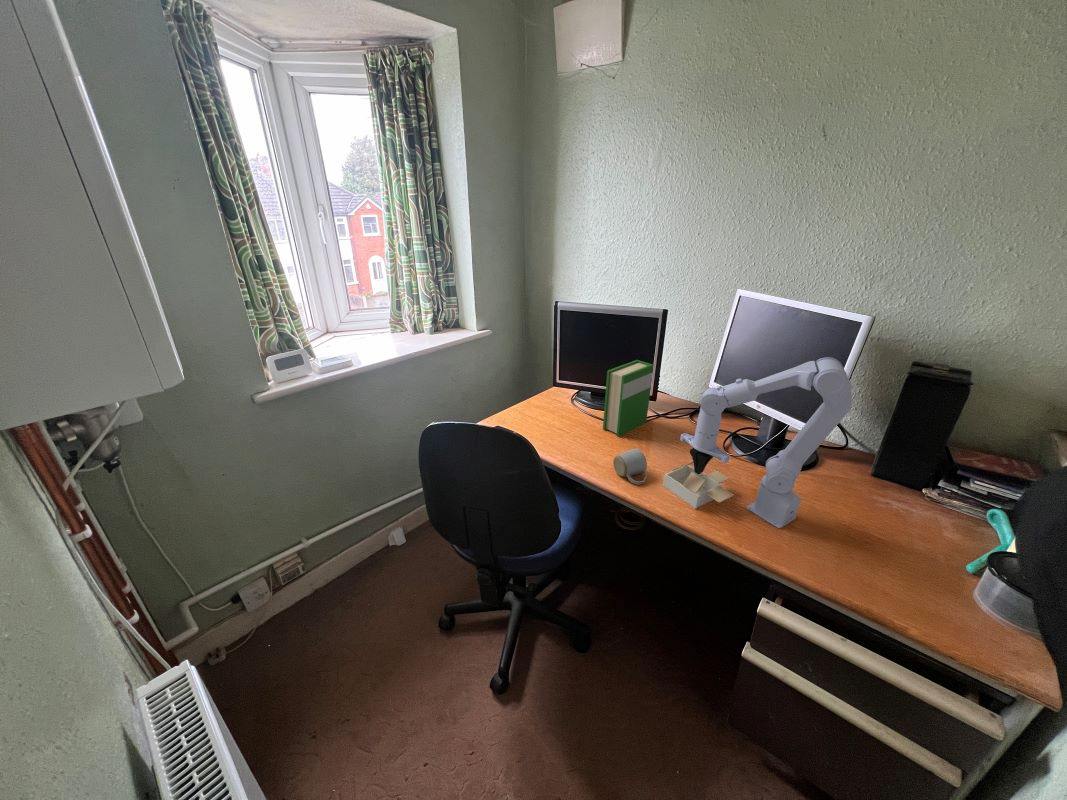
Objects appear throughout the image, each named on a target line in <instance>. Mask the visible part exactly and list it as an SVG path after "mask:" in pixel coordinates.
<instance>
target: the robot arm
mask: <svg viewBox="0 0 1067 800" xmlns="http://www.w3.org/2000/svg"><path fill="white" fill-rule="evenodd" d="M791 387H799V388H801V389H803V390H804V389H805V390H806V391H812V387H813V388H814V389H815V391H816V392H817V393H818V394H819V395H820V396H821V398H822V400H823V402H822V403H821V404H820V406H819V407H817V409H816V410H815V412H814V413H813V414H812V416H811V417H810V418H809V419H808V420H807V421H806V423H805V424H804V425H803V427H801V429H800V430H799V432H797V434H796V435H794V437H793V438H792V440H791V441H790V443H789V444H787V446H786V447H785V449H782V450H779V451H778V453H777V454H776V455H773V456H770V457H769V458H768V459H767V460H766V461H765V472H766V473H765V474H764V476H762V478H760V479H761V480H760V483H759V486H758V490H757V493H756V496H755V500H754V502H752V503H751V504H749V505H747V506H746V509H747V510H748V511H750V512H751V513H753V514H754V515H756V516H758V517H760V518H761V519H762V520H764V521H766V522H767V523H769V524H771V525H772V526H774V527H775V528H777V529H782V528H783V527H784V526H787V525H788V524H789V523H791V522H792V521H794V520H796V519H797V516H796V515H797V513H798V509H799V506H800V504H801V501H802V500H801V499H802V498H801V497H800V496H799V495H798V494H796V493H795V491H794V490H793V489H794V488H795V482H796V480H797V479H798V478H799V476H800V473H801V470H802V468H803V465H804V464H805V462H806V461H807V460H808V459H810V457H811V456H812V455H813V453H814V452H815V451H816V450H817V449H818V448H819V447H820V445H821V444H822V443H823V442H824V441H825V440H826V439H827V438H828V436H829V435H830V434H831V433H832V432H833V430H834V429H835V428H836V427H837V426H838V425H839V423H840V422H842V420H843V419H844V418H845V417H846V415H847V414H848V413H849V412H850V411H851V409H852V407H853V405H852V399H853V398H852V396H853V395H852V394H853V393H852V392H853V391H852V390H853V385H852V382H851V380H850V379H849V377H848V374H847V372H846V371H845V368H844V366H843V364H842V363H841V362H840V361H839V360H838V359H837V358H835V357H829V356H828V357H822V358H819V359H816V361H815V360H810V361H807V362H804V363H802V364H799V365H797V366H794V367H791V368H789V369H786V370H783V371H781V372H777V373H775V374H771V375H768V376H766V377H764V378H761V379H758V380H752V379H749V378H745V379H742V378H741V377H740V378H736V380H735V382H733V383H729V384H727V385H723V386H721V384H720V385H718V386H716V387H709V388H707V389H706V390H704V392H703V394H702V395H701V400H700V408H699V413H698V415H697V417H698V418H697V420H696V421H697V422H696V427H695V431H694V432H695V433H694V435H693V434H692V435H691V434H689V433H686V432H684V433H682V434H680V439H679V441H681V442H685V443H687V444H689V445H690V446H691V447H692V448H691V449H690V450H689V454H690V456H691V459H692V462H693V463H692V464H693V468H694V471H695V473H697V474H700V473H704V471H705V468H706V467H707V465H708V464H709V463H710V461H711V460H712V459H713V458H715V459H717V460H719V461H720V462H721V464H724V465H725V464H727V463H728V462H729V461H730V457H731V455H730V454H728V453H726V452H725V451H724V450H722V448H720V447H719V446H717V441H718V436H719V433H720V427H721V421H722V413H723V412H724V410H725V409H726V408H727V409H728V408H733V407H735V406H739V405H743V404H747V403H751V402H754V401H756V400H757V398H758V396H759V395H761V394H765V393H770V392H775V391H778V390H782V389H786V388H791Z"/></svg>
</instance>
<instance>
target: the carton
mask: <svg viewBox="0 0 1067 800" xmlns="http://www.w3.org/2000/svg"><path fill="white" fill-rule="evenodd" d="M673 470H674V469H673ZM691 472H693V473H695V471H694V466H691V465H687V466H685V467H682V468H680V469H677V470H674V471H672V470H671V471H669V472H666V473H665V474H664V477H663V483H662V487H664V488H665V489H667V490H668V491H669V492H671V493H672V494H674V495H675V496H676V497H678V498H679V499H681V500H682V501H684V502H685V503H687V504H688V505H690V506H691V507H692V508H694V509H695V510H696V509H698V508H700V507H702V506H704V505H706V504H708V503H710V502H712V501H714V500H715V502H717V503H719V504H720V503H722V502H724V501H726V500H728V499H730V498H731V497H733V496H734V494H733V493H732V492H730V491H728V490H726V489H725V488H723V485H722V483H723V482H726V481H728V480H730V478H729V477H728V476H726V475H724V474H723V473H721V472H719V471H718V470H714V471H712V472H709V473H707V474H704V472H702V473H700V474H697V473H695V474H696V475H698V476H699V477H701V478H703V479H704V480H706V481H705V482H704V483H703V485H702V486H701V487H700V489H699V490H698V491H697V493H694V492H693V491H691V490H690V489H688V488H687V487H685V486H684V485H682V484H683V483H684V482H685V480H686V479H687V478H688V476H689V475H690V474H691Z"/></svg>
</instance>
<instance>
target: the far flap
mask: <svg viewBox="0 0 1067 800" xmlns="http://www.w3.org/2000/svg"><path fill="white" fill-rule="evenodd" d="M692 464H694V463H693V461H691V462H688V463H686V464H684V465H681V466H678V467H675V468H674V469H672V470H671V471H674V470H677V469H680V468H682V467H685V466H687V465H689V466H691V465H692Z"/></svg>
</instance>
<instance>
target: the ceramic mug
mask: <svg viewBox="0 0 1067 800" xmlns="http://www.w3.org/2000/svg"><path fill="white" fill-rule="evenodd" d="M612 464H613V468H614V471H615V473H616V474H617V475H618V476H619V477H622V478H626V477H627V479H628V480H629V481H630V483H632V484H634V485H637V486H638V485H642V484H644V483H645V481H646V480H647V472H646V470H647V467H648V462H647V459H646V456H645V455H644V452H643V451H642V450H641V449H639V448H636V447H635V448H633V449H630V450H626V451H625V452H621V453H619V454H617V455H615V456H614V457H613V461H612ZM641 473H642V474H643V480H641V481H639V480H638V481H637V480H635V479H633V478H632V476H634V475H639V474H641Z"/></svg>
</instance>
